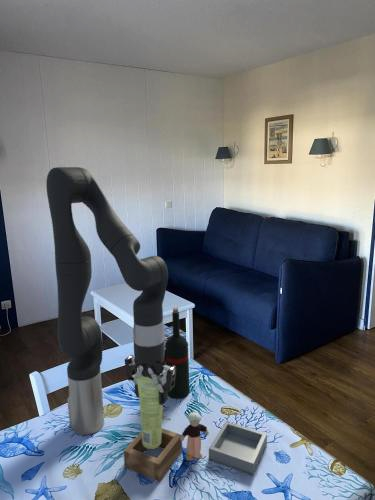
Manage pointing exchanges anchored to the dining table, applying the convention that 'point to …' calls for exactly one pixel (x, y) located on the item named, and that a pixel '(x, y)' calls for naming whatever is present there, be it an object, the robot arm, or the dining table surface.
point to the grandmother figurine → (194, 436)
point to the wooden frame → (149, 464)
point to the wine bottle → (178, 359)
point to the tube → (150, 412)
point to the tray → (238, 447)
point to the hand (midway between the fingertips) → (151, 399)
